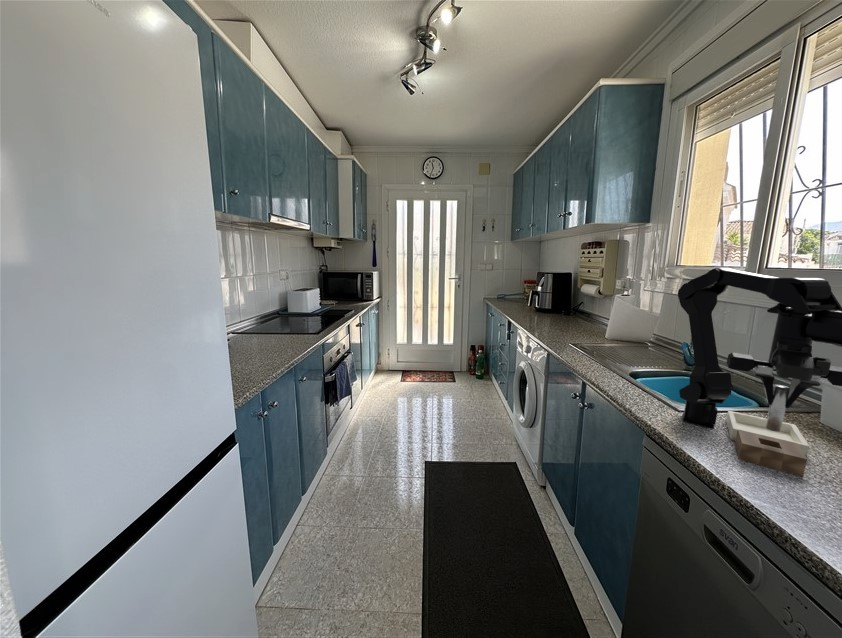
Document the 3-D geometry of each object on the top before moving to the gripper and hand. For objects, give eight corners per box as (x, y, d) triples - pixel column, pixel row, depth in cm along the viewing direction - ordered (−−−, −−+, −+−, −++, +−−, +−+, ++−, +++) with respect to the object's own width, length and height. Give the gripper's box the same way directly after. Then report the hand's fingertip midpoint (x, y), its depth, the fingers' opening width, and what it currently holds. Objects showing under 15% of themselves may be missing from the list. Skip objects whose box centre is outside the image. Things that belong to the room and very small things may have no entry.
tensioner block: (738, 459, 78) (742, 443, 77) (734, 444, 84) (737, 429, 83) (803, 476, 72) (807, 459, 71) (793, 459, 78) (797, 443, 77)
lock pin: (766, 429, 76) (775, 386, 74) (764, 425, 78) (773, 383, 76) (781, 432, 75) (791, 389, 73) (779, 428, 77) (788, 386, 75)
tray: (731, 439, 86) (733, 428, 85) (726, 420, 96) (728, 410, 96) (806, 458, 78) (809, 446, 78) (792, 435, 88) (795, 424, 88)
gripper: (738, 337, 72) (725, 406, 75) (879, 353, 61) (857, 433, 64) (732, 328, 81) (721, 391, 83) (855, 341, 69) (837, 412, 72)
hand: (777, 405), depth 75 cm, fingers closed on lock pin, 2 cm apart
